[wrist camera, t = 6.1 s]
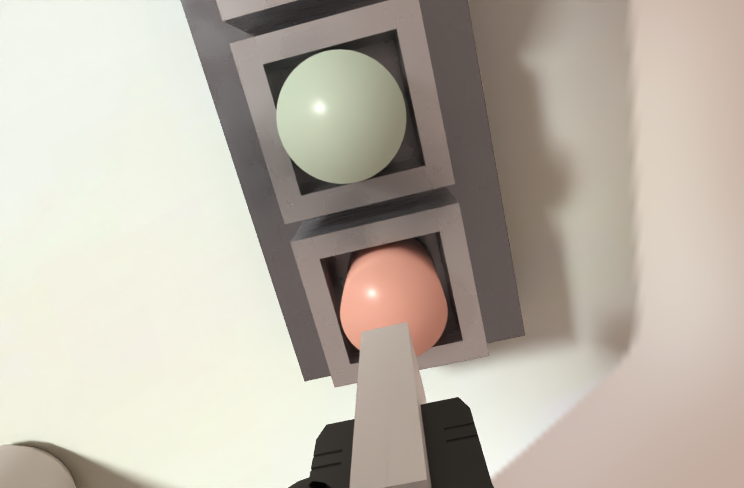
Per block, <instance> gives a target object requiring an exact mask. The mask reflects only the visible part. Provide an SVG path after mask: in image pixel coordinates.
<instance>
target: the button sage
mask: <svg viewBox="0 0 744 488" xmlns="http://www.w3.org/2000/svg"><path fill="white" fill-rule="evenodd" d="M276 120H277V128H278V132H279V136H280V139H281V142H282V144H283V146H284V148H285V150H286V152H287V153H288V155H289V156H290V158H291V159H292V160H293V161H294V162H295V163H296V164H297V165H298V166H299V167H300V168H301V169H302V170H303V171H305V172H306V173H308V174H309V175H311V176H313V177H315V178H317V179H320V180H323V181H326V182H330V183H337V184H349V183H355V182H359V181H362V180H365V179H368V178H370V177H372V176H374V175H375V174H377V173H378V172H380V171H381V170H382V169H383V168H385V167H386V166H387V165H388V164H389V163H390V161H391V160H392V159H393V158H394V156H395V155H396V153H397V151H398V150H399V148H400V146H401V143H402V140H403V138H404V133H405V129H406V108H405V102H404V99H403V95H402V93H401V90H400V88H399V86H398V84H397V82H396V81H395V79H394V78H393V76H392V75H391V74H390V72H389V71H388V70H387V69H386V68H385V67H384V66H383V65H381V64H380V63H379V62H377V61H376V60H375V59H373V58H371V57H369V56H367V55H365V54H362V53H360V52H356V51H351V50H342V49H339V50H329V51H324V52H321V53H318V54H315V55H313V56H311V57H309V58H308V59H306V60H305V61H303V62H302V63H300V64H299V65H298V66H297V67H296V68H295V69H294V70H293V71H292V73H291V74H290V75H289V76H288V78H287V80H286V81H285V83H284V85H283V87H282V89H281V92H280V95H279V98H278V103H277V111H276Z"/></svg>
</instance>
